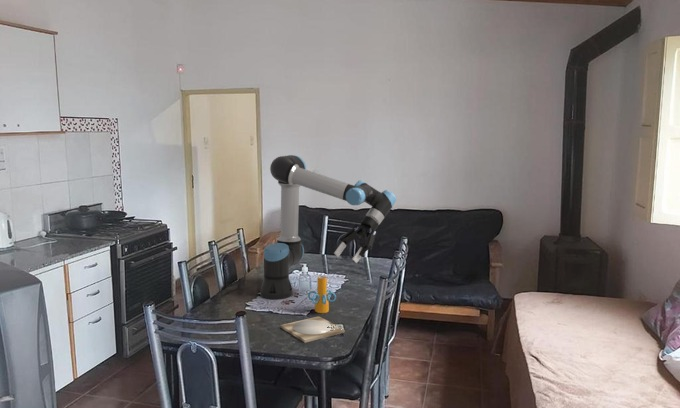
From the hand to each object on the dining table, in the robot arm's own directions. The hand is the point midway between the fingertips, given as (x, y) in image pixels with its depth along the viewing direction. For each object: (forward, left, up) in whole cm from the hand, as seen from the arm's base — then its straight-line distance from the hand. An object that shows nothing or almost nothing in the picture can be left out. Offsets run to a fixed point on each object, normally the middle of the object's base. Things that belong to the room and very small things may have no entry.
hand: (345, 258), depth 231 cm
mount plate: (+16, -27, -22) cm, 38 cm away
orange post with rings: (0, -12, -22) cm, 25 cm away
